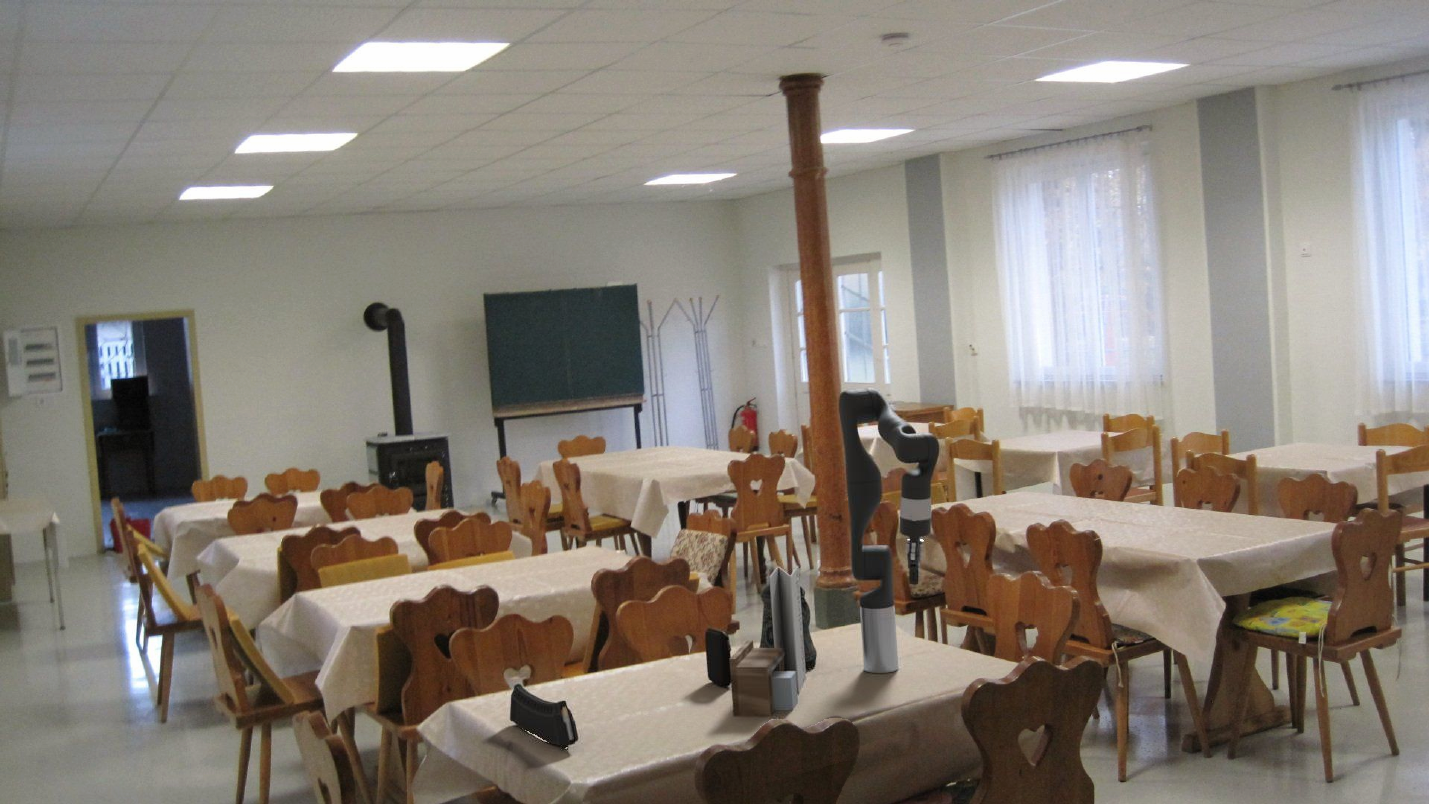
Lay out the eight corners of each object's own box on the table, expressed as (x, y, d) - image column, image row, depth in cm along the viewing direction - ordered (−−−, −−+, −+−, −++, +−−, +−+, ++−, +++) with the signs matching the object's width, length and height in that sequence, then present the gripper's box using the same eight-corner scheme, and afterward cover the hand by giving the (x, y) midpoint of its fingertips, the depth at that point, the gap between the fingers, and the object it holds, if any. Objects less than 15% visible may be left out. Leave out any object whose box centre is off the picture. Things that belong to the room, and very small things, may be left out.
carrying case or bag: (737, 688, 320) (733, 632, 319) (727, 690, 318) (723, 634, 317) (715, 680, 329) (711, 625, 328) (705, 682, 327) (701, 628, 326)
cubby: (751, 694, 313) (747, 640, 312) (787, 694, 310) (783, 640, 310) (733, 716, 296) (729, 658, 295) (771, 716, 293) (767, 658, 293)
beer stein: (778, 655, 350) (772, 568, 349) (837, 661, 339) (831, 572, 338) (746, 670, 337) (739, 580, 336) (806, 677, 325) (800, 584, 324)
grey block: (750, 702, 306) (748, 671, 306) (797, 703, 303) (795, 671, 303) (745, 710, 301) (742, 677, 300) (793, 710, 297) (790, 678, 297)
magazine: (503, 687, 303) (552, 674, 279) (515, 684, 305) (565, 671, 280) (516, 757, 299) (568, 750, 275) (529, 754, 301) (581, 746, 277)
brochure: (799, 693, 311) (790, 576, 309) (777, 693, 312) (769, 577, 311) (806, 677, 325) (798, 565, 323) (785, 678, 326) (777, 566, 324)
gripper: (902, 507, 305) (900, 574, 307) (897, 520, 292) (895, 590, 295) (932, 509, 303) (931, 576, 306) (929, 522, 290) (927, 593, 293)
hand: (913, 583), depth 300 cm, fingers closed
